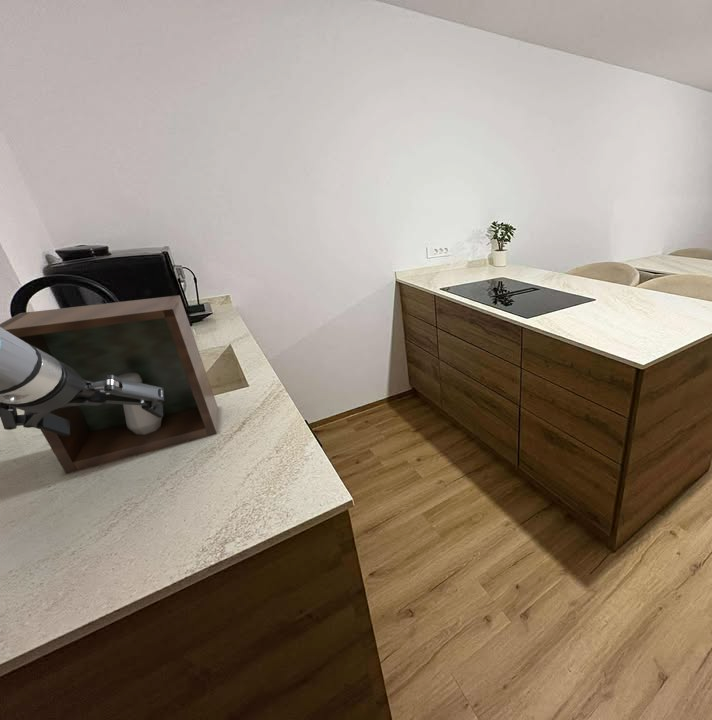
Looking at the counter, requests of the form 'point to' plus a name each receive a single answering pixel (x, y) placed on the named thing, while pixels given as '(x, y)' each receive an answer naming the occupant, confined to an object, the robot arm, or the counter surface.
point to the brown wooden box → (121, 356)
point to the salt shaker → (139, 413)
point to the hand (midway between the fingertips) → (115, 419)
